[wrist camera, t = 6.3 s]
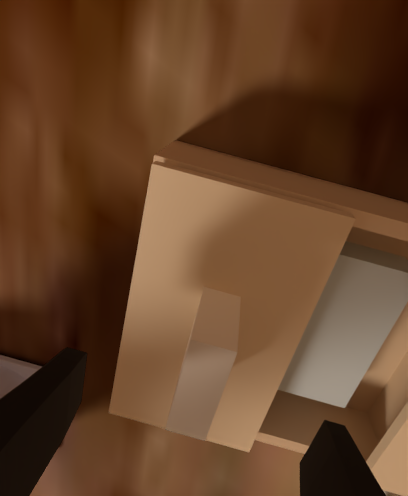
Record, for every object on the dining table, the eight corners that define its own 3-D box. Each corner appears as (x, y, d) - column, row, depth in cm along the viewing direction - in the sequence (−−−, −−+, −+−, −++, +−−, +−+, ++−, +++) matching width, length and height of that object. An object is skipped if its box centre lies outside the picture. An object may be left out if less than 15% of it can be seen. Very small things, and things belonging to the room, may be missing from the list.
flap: (112, 404, 17) (80, 477, 14) (156, 160, 12) (120, 188, 9) (249, 442, 17) (248, 524, 14) (352, 213, 12) (387, 260, 9)
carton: (133, 349, 21) (111, 399, 17) (175, 140, 15) (154, 154, 12) (370, 415, 20) (393, 479, 17) (493, 225, 15) (559, 264, 12)
